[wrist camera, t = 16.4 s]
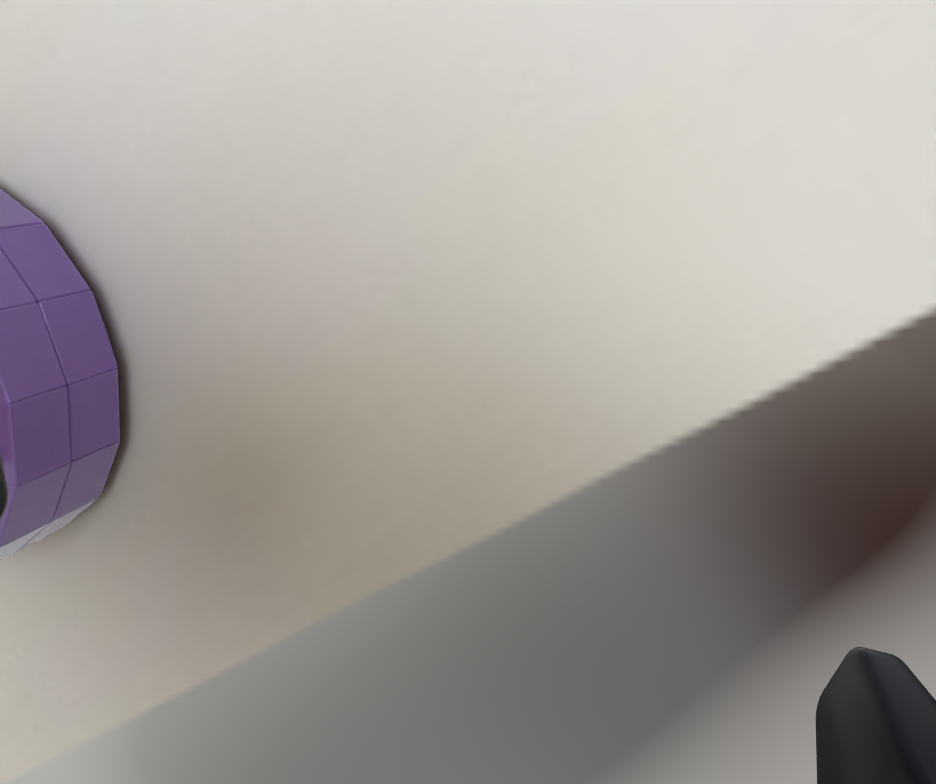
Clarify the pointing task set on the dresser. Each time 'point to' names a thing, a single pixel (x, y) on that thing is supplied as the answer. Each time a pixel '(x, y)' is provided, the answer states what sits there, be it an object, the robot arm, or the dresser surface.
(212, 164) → the dresser surface
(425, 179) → the dresser surface
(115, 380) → the purple bowl
